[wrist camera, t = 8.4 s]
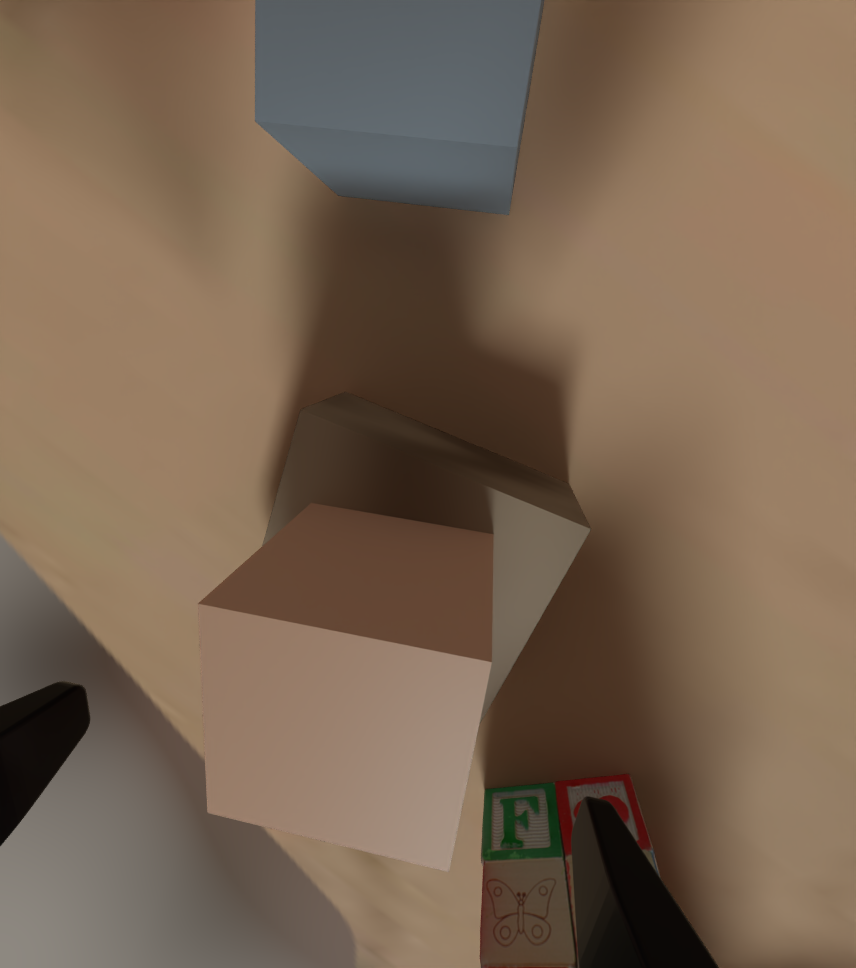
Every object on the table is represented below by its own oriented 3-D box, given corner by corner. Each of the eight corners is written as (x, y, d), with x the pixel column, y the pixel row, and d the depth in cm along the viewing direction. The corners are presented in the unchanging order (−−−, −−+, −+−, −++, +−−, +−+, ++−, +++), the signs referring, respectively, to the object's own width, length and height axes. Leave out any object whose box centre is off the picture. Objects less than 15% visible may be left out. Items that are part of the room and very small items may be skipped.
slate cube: (546, -12, 11) (583, -259, 7) (508, 215, 13) (516, 147, 8) (351, -25, 12) (256, -266, 7) (338, 196, 13) (254, 121, 9)
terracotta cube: (493, 534, 12) (492, 662, 7) (465, 685, 14) (448, 872, 9) (311, 502, 12) (197, 603, 8) (304, 653, 14) (207, 812, 9)
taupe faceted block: (567, 481, 15) (591, 529, 12) (474, 657, 18) (469, 742, 14) (348, 390, 15) (300, 409, 12) (288, 579, 18) (234, 643, 14)
